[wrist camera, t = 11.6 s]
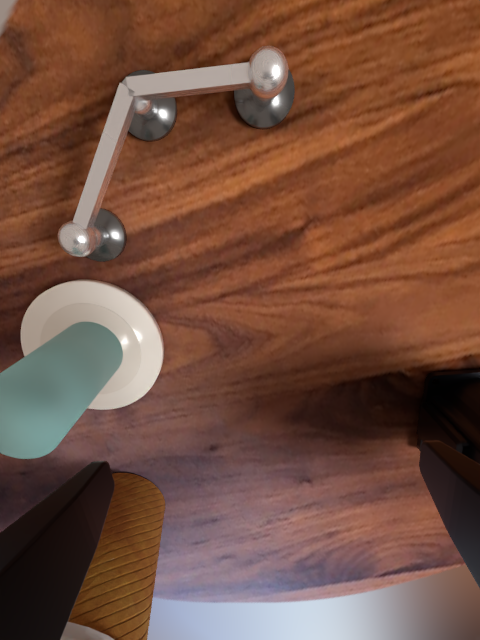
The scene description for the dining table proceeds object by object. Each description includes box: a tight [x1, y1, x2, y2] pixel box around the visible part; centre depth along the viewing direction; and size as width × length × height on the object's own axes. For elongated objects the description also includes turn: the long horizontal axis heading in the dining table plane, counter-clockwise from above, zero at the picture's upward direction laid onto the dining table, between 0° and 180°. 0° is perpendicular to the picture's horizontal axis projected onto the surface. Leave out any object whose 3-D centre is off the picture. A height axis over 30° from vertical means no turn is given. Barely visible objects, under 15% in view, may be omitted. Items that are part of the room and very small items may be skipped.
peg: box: [0, 322, 123, 459], centre depth 16 cm, size 4×4×7 cm
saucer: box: [21, 279, 164, 410], centre depth 20 cm, size 9×9×1 cm
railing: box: [58, 46, 294, 261], centre depth 15 cm, size 13×9×4 cm
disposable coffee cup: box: [61, 473, 165, 640], centre depth 20 cm, size 10×10×12 cm
